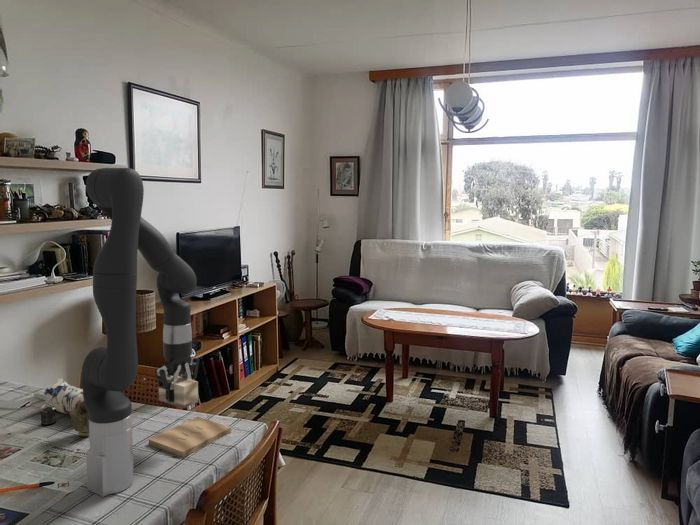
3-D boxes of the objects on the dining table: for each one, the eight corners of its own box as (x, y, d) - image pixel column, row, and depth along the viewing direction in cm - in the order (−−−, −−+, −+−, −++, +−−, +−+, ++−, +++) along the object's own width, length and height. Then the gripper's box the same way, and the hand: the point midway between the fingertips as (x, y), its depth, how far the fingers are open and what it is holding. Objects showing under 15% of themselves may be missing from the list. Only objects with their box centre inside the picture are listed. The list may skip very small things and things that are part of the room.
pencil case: (42, 412, 161) (41, 383, 160) (67, 403, 168) (66, 375, 167) (88, 426, 151) (87, 395, 150) (112, 416, 159) (111, 386, 158)
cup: (105, 430, 149) (104, 404, 148) (89, 441, 141) (88, 414, 141) (81, 428, 149) (80, 403, 149) (65, 440, 142) (63, 413, 141)
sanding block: (184, 408, 136) (183, 386, 135) (159, 400, 140) (158, 379, 140) (198, 402, 140) (197, 381, 139) (173, 395, 145) (173, 374, 144)
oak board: (183, 457, 134) (183, 451, 134) (148, 444, 141) (148, 439, 141) (231, 432, 149) (231, 427, 149) (197, 421, 156) (197, 416, 156)
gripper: (165, 347, 130) (167, 410, 132) (206, 335, 143) (207, 393, 144) (146, 342, 134) (148, 404, 136) (188, 332, 146) (188, 388, 148)
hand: (178, 398), depth 140 cm, fingers closed on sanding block, 5 cm apart
